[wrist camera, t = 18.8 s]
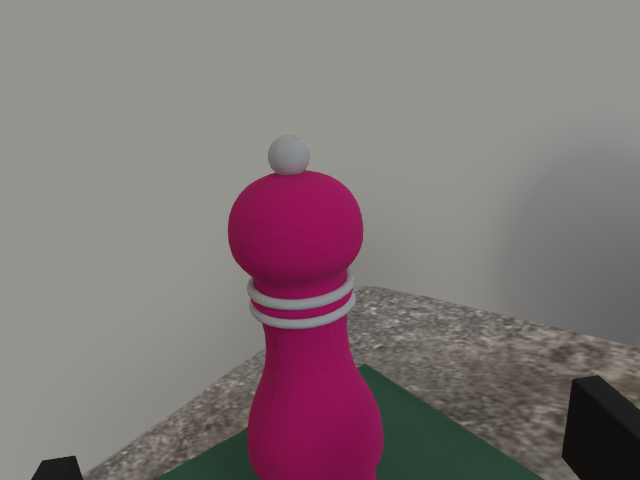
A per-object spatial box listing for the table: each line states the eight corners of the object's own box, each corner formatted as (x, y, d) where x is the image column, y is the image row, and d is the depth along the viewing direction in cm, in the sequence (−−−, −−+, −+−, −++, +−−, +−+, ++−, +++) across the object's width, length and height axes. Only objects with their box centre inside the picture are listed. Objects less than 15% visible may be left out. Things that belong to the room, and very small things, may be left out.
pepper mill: (245, 467, 27) (190, 137, 20) (352, 430, 29) (334, 122, 23) (276, 583, 20) (210, 155, 14) (410, 525, 23) (408, 131, 16)
